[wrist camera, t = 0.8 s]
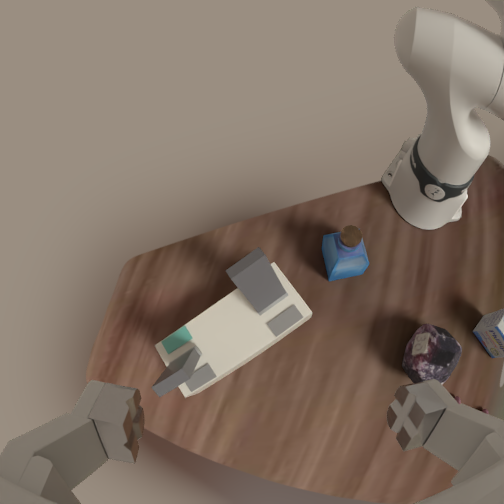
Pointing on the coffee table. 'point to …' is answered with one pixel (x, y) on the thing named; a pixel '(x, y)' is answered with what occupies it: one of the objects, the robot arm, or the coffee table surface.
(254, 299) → the inner lever
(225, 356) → the switch unit
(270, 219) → the coffee table surface
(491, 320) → the medicine box
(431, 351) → the mineral specimen
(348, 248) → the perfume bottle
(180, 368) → the outer lever
